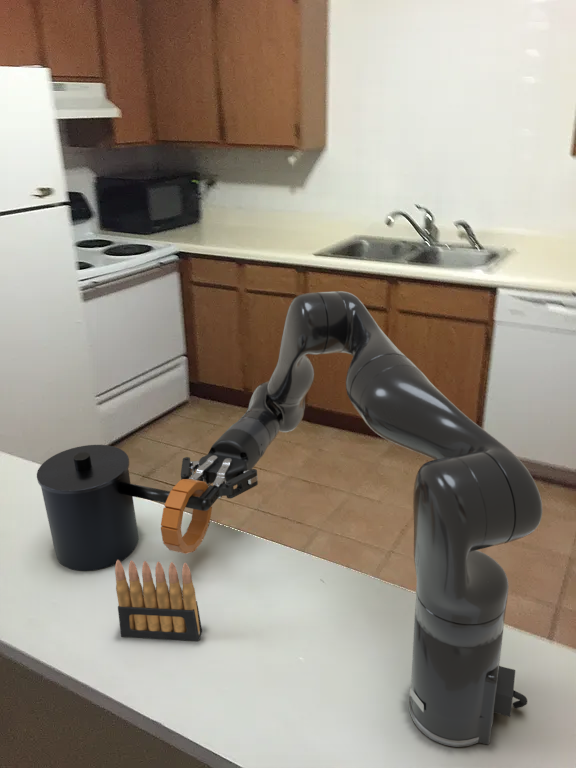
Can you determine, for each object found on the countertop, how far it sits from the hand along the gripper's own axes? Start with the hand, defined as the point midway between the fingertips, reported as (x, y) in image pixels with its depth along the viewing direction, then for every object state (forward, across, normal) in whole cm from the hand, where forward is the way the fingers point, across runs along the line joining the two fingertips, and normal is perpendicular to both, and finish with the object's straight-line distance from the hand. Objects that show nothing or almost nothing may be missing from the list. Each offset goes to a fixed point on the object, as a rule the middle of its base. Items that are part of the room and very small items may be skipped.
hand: (191, 502), depth 99 cm
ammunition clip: (+15, +3, +11) cm, 19 cm away
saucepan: (+2, -10, +11) cm, 15 cm away
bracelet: (+1, 0, +6) cm, 7 cm away
